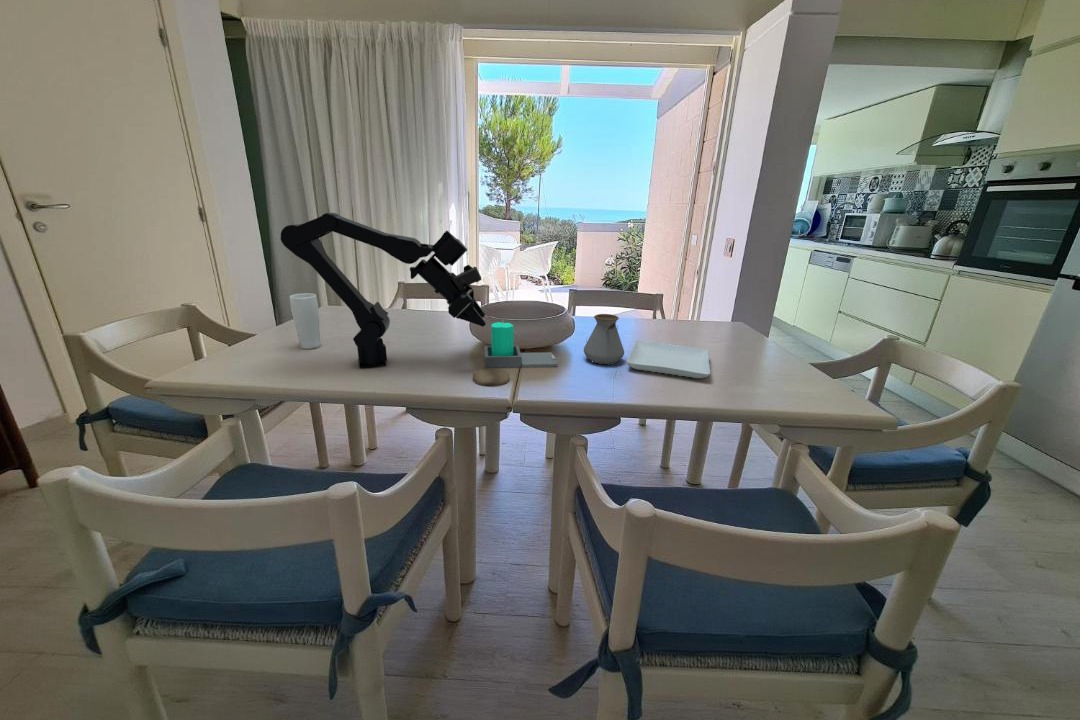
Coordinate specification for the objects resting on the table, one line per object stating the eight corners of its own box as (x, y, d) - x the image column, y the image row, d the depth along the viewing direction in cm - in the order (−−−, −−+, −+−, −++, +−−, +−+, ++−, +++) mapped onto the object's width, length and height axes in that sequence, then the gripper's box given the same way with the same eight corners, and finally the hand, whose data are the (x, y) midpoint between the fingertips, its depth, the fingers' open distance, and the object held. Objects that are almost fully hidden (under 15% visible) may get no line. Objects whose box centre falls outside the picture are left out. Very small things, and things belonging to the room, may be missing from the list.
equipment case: (485, 367, 114) (485, 357, 113) (484, 355, 123) (484, 345, 122) (557, 366, 116) (557, 356, 115) (551, 355, 125) (552, 345, 124)
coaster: (479, 388, 101) (479, 383, 101) (468, 375, 109) (468, 370, 108) (514, 383, 105) (514, 378, 104) (502, 370, 112) (502, 366, 112)
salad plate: (709, 385, 109) (711, 373, 107) (624, 373, 115) (626, 361, 114) (707, 359, 127) (709, 348, 126) (634, 350, 134) (636, 339, 133)
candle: (512, 365, 116) (512, 322, 112) (490, 364, 116) (489, 321, 112) (514, 358, 122) (514, 317, 117) (492, 357, 122) (492, 316, 118)
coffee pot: (581, 352, 128) (585, 303, 123) (620, 354, 128) (625, 305, 123) (585, 380, 108) (590, 322, 103) (631, 382, 108) (638, 324, 103)
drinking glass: (300, 344, 127) (291, 293, 122) (325, 342, 129) (318, 292, 124) (295, 351, 121) (286, 298, 116) (321, 349, 123) (314, 297, 118)
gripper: (460, 260, 99) (508, 307, 104) (462, 252, 116) (503, 292, 122) (427, 294, 101) (476, 339, 106) (434, 280, 118) (476, 319, 123)
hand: (484, 320), depth 114 cm, fingers open, 9 cm apart
